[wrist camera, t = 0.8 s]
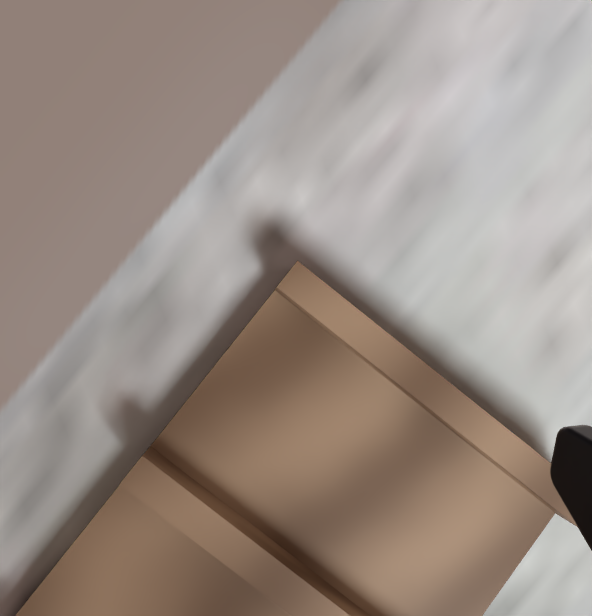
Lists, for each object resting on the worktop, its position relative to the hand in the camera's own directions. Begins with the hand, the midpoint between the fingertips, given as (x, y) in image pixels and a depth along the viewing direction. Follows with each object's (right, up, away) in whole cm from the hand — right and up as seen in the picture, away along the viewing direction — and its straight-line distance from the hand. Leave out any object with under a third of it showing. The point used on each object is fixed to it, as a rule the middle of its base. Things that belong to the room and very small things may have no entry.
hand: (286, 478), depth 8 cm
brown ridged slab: (0, -7, +13) cm, 15 cm away
